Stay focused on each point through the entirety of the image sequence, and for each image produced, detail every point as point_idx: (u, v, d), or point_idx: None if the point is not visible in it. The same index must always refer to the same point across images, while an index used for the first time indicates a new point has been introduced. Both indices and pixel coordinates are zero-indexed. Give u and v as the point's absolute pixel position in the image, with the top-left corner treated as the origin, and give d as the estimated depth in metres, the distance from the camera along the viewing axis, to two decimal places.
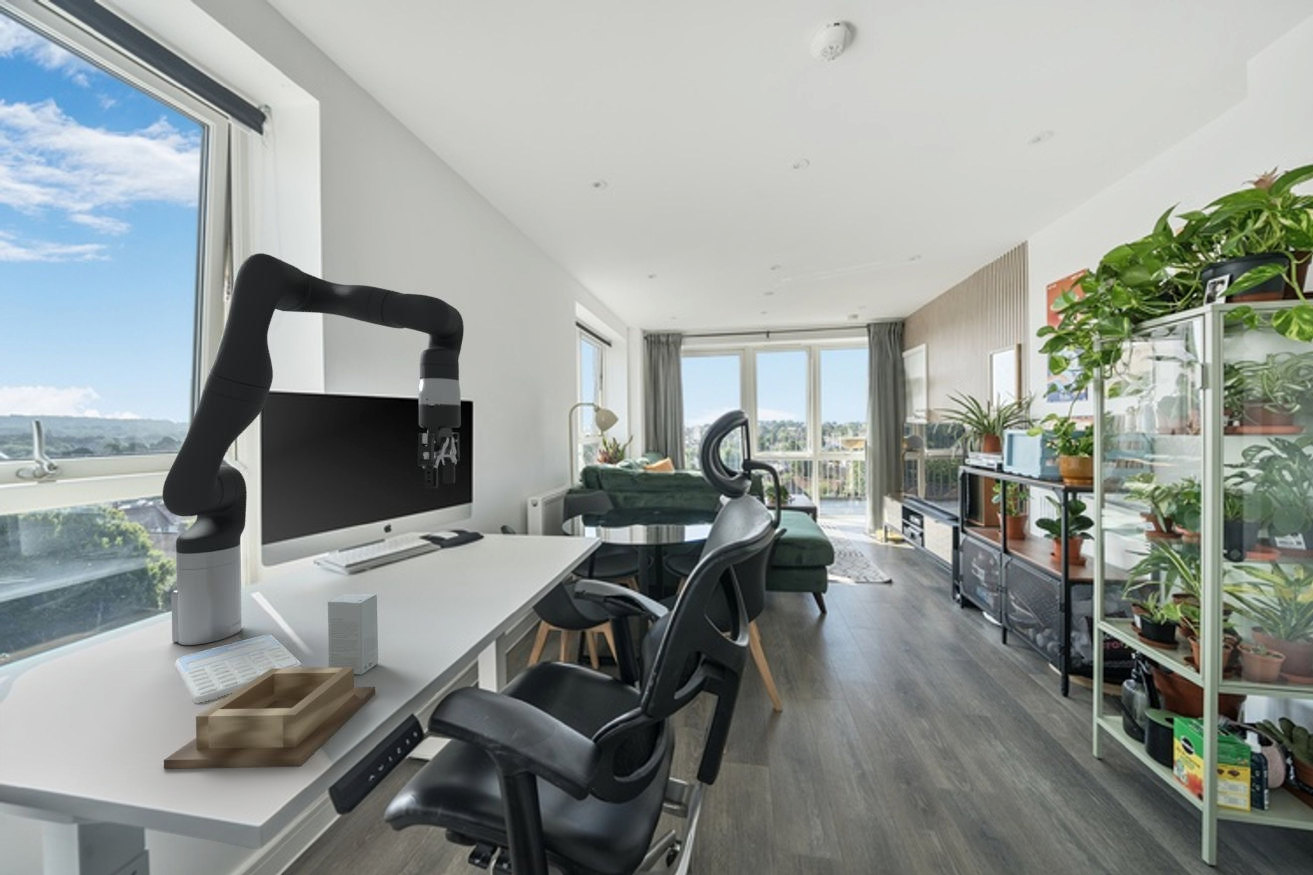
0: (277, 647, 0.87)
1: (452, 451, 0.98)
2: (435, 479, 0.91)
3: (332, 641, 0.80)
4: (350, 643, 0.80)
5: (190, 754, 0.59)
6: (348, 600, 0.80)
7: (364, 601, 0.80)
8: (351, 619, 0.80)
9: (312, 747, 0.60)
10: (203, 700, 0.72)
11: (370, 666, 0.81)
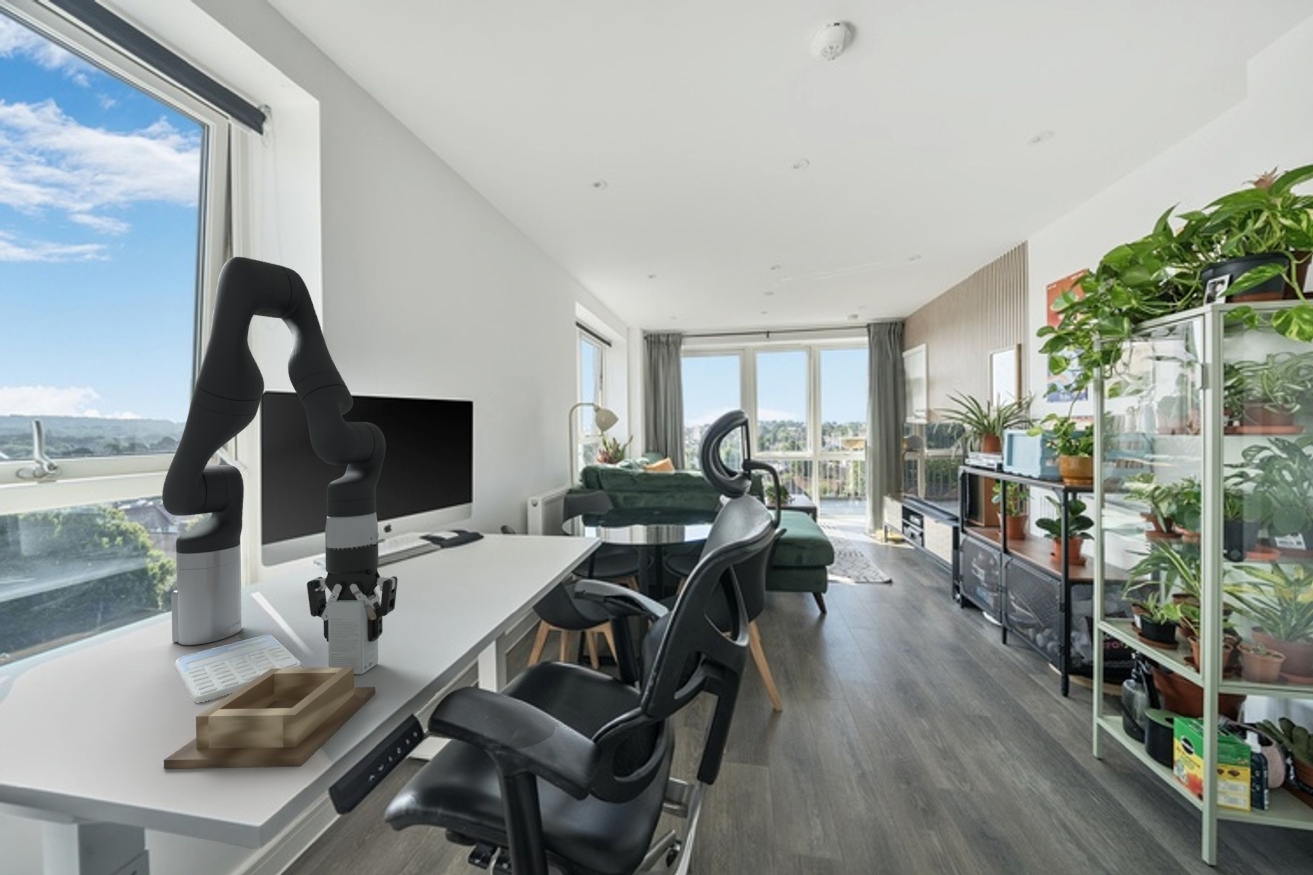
0: (277, 647, 0.87)
1: None
2: None
3: (332, 640, 0.80)
4: (350, 643, 0.80)
5: (190, 754, 0.59)
6: (348, 600, 0.80)
7: None
8: (351, 619, 0.80)
9: (312, 747, 0.60)
10: (203, 700, 0.72)
11: (370, 666, 0.81)
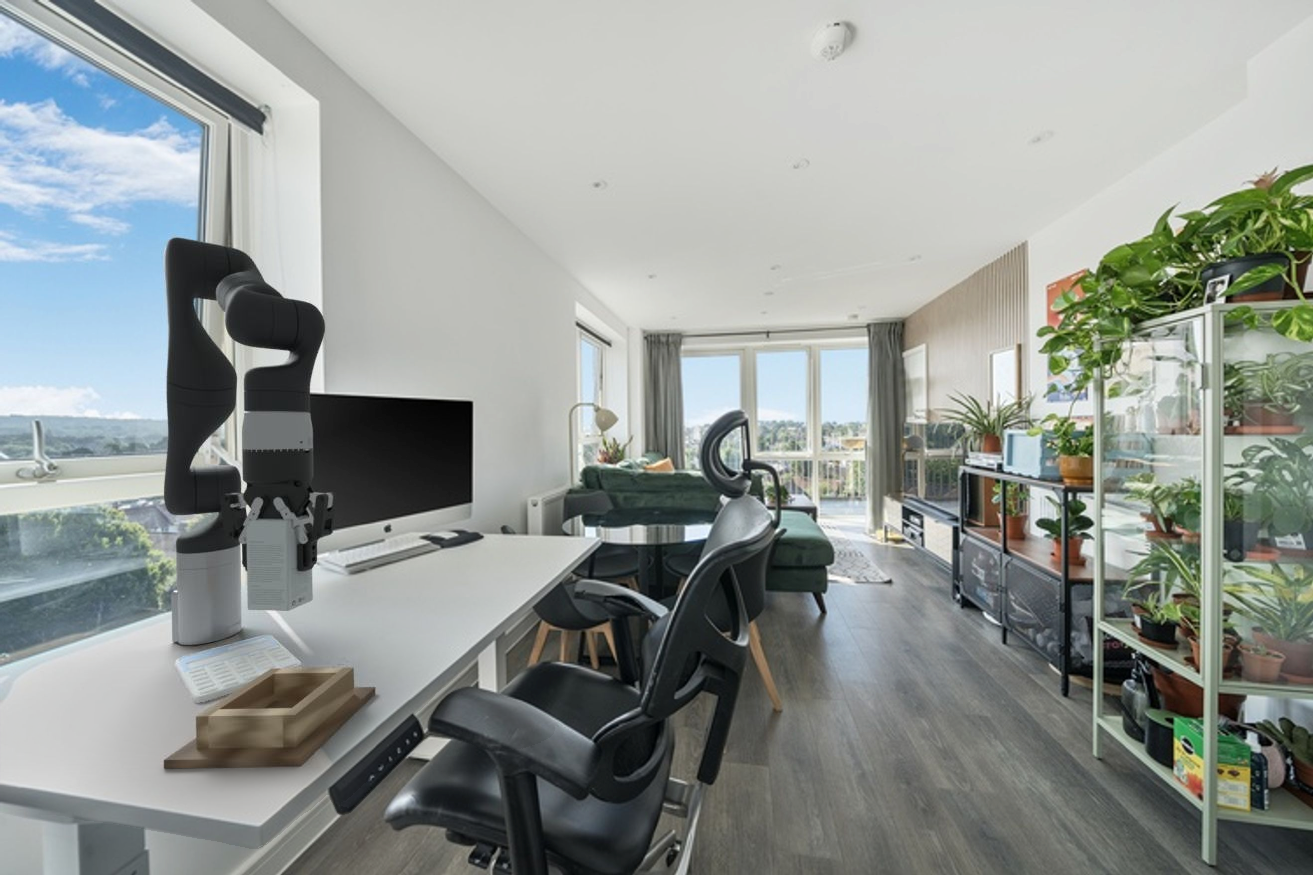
0: (277, 647, 0.87)
1: None
2: None
3: (252, 569, 0.64)
4: (274, 572, 0.63)
5: (190, 754, 0.59)
6: (272, 519, 0.64)
7: None
8: (275, 542, 0.63)
9: (312, 747, 0.60)
10: (203, 700, 0.72)
11: (301, 602, 0.65)
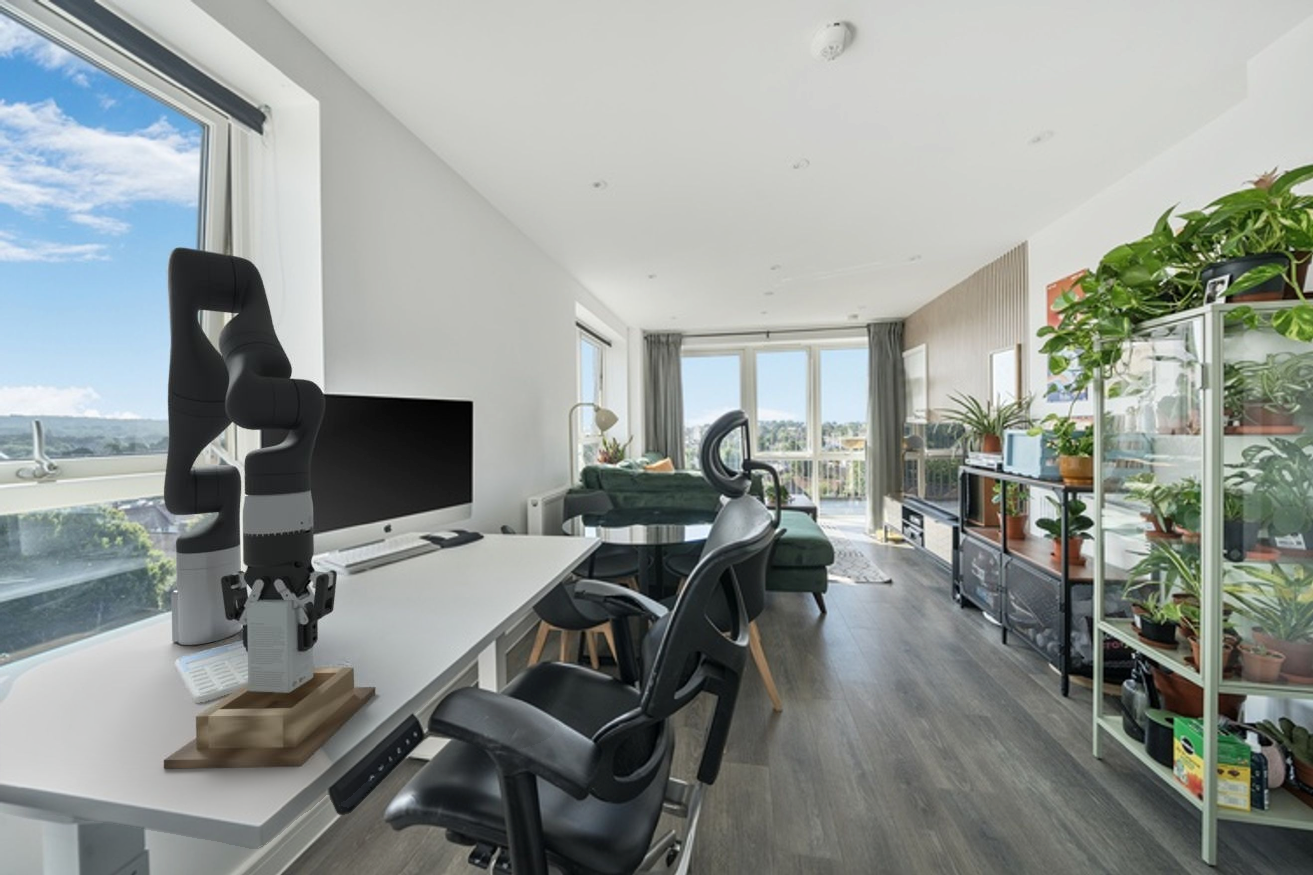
0: None
1: None
2: None
3: (252, 650, 0.64)
4: (274, 654, 0.64)
5: (190, 754, 0.59)
6: (272, 600, 0.64)
7: None
8: (275, 624, 0.63)
9: (312, 747, 0.60)
10: (204, 700, 0.72)
11: (301, 682, 0.65)
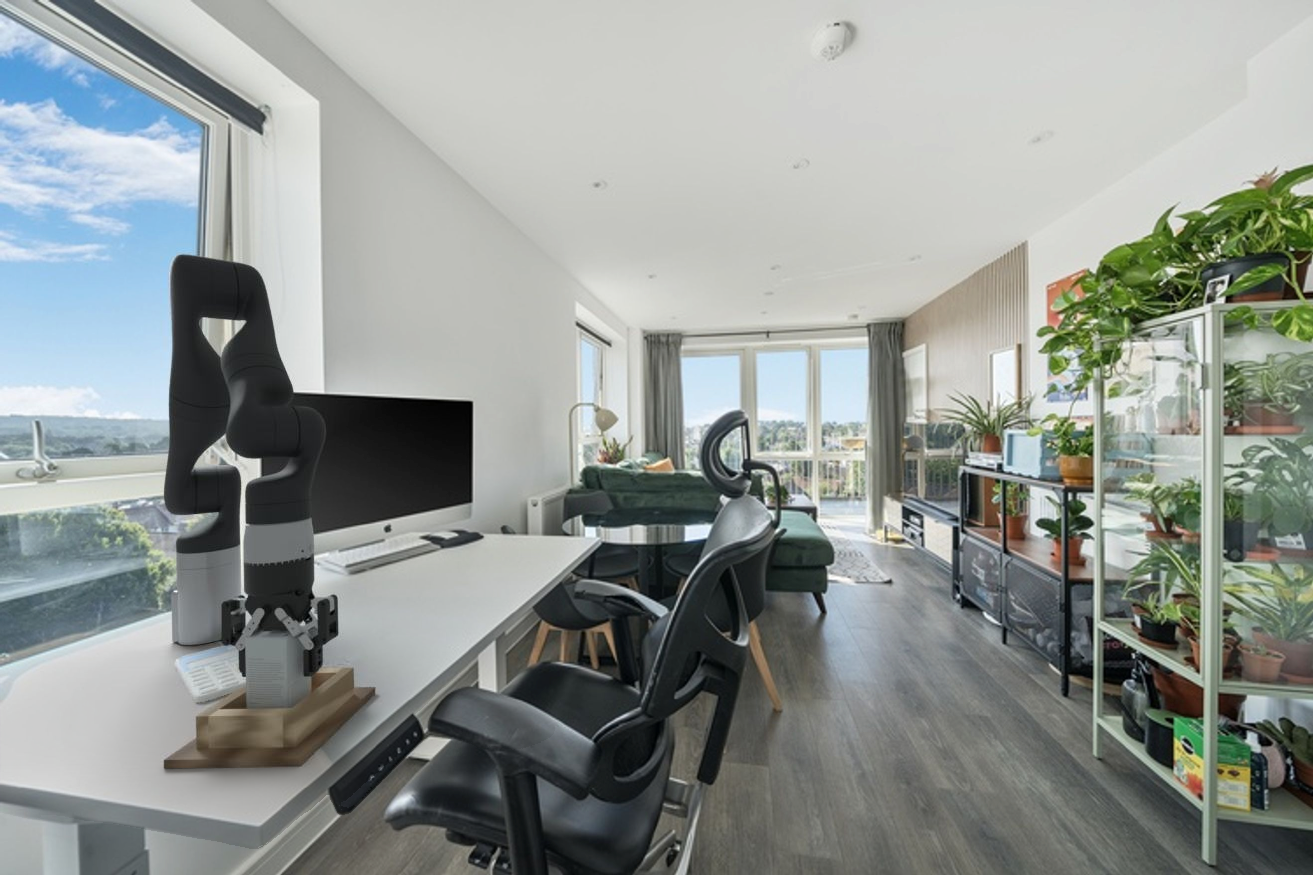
0: None
1: None
2: None
3: (251, 686, 0.64)
4: (274, 689, 0.64)
5: (190, 754, 0.59)
6: (271, 635, 0.64)
7: (292, 636, 0.64)
8: (275, 659, 0.64)
9: (312, 747, 0.60)
10: (204, 700, 0.72)
11: None
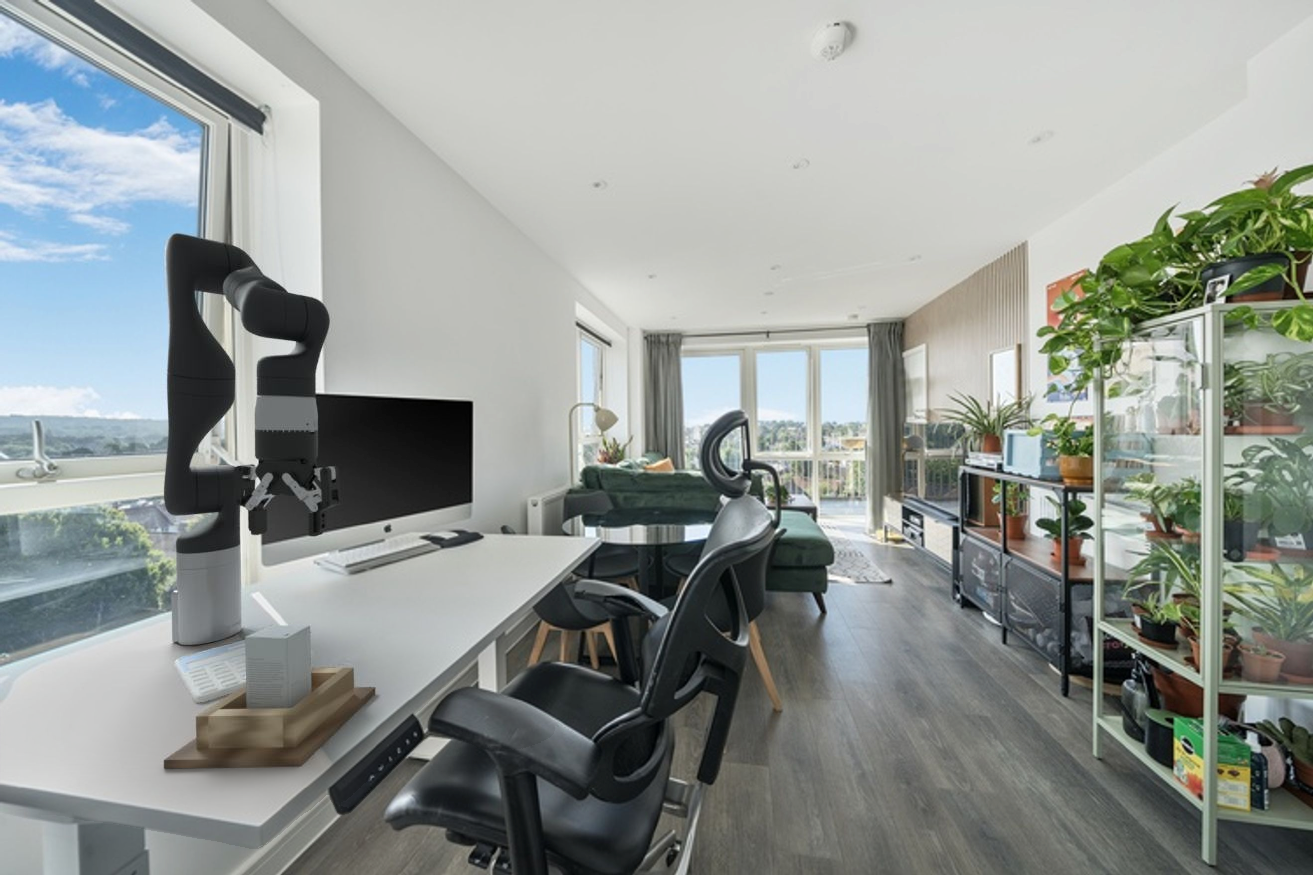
0: None
1: None
2: None
3: (251, 686, 0.64)
4: (274, 689, 0.64)
5: (190, 754, 0.59)
6: (271, 635, 0.64)
7: (292, 636, 0.64)
8: (275, 659, 0.64)
9: (312, 747, 0.60)
10: (204, 700, 0.72)
11: None
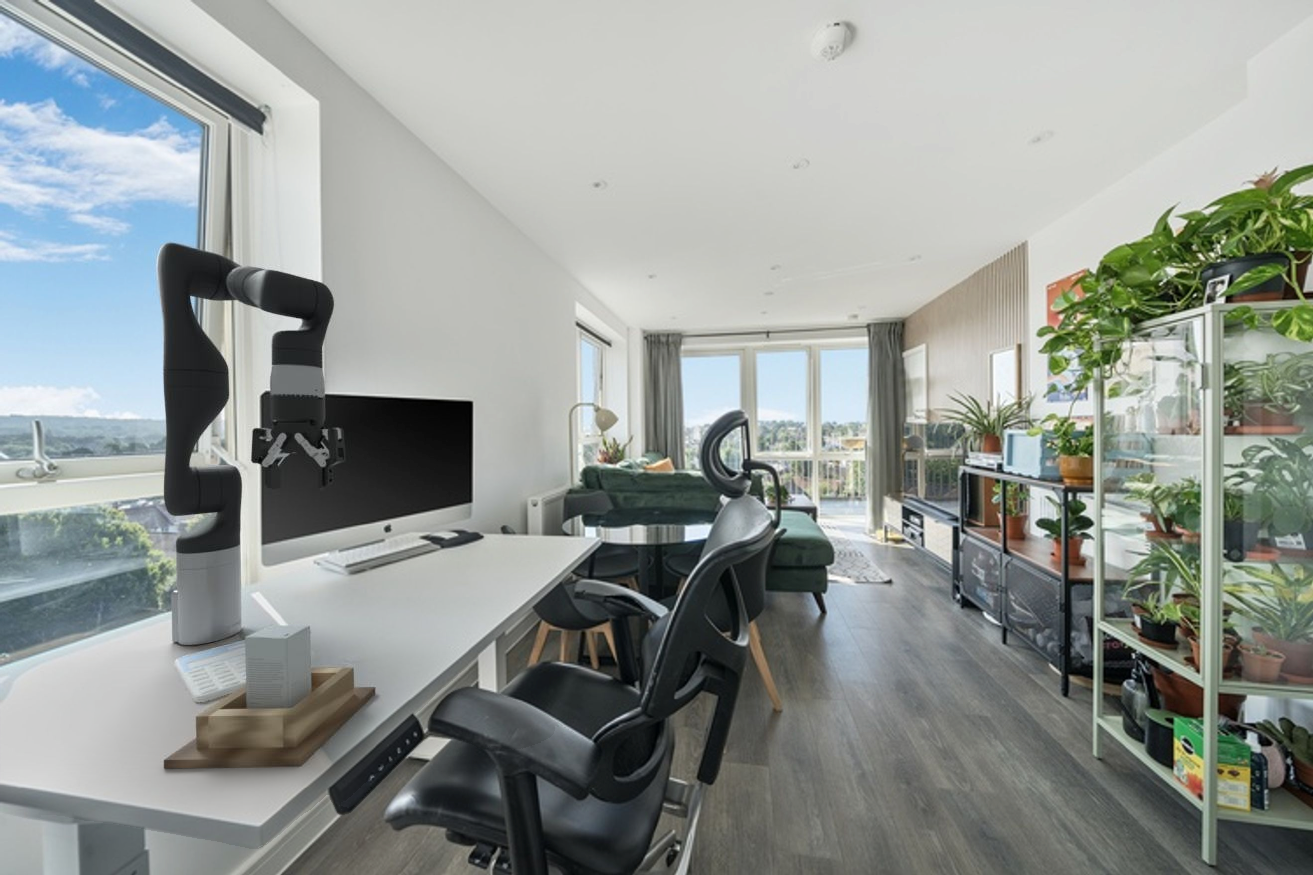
0: None
1: None
2: None
3: (251, 686, 0.64)
4: (274, 689, 0.64)
5: (190, 754, 0.59)
6: (271, 635, 0.64)
7: (292, 636, 0.64)
8: (275, 659, 0.64)
9: (312, 747, 0.60)
10: (204, 700, 0.72)
11: None
